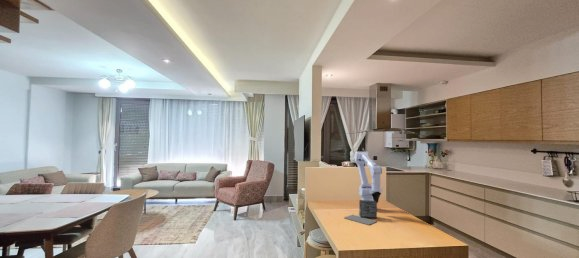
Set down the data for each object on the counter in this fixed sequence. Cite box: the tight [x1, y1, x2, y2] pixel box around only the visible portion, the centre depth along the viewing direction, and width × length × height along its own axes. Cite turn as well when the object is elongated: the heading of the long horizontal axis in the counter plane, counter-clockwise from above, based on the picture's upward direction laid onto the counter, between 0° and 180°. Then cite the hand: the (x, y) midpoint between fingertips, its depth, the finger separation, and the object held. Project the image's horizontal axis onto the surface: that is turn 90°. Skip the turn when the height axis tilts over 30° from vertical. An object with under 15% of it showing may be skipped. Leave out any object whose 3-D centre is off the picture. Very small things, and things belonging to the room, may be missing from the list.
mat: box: [343, 214, 378, 226], centre depth 163 cm, size 10×18×1 cm, turn 43°
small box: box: [358, 199, 378, 219], centre depth 170 cm, size 11×6×10 cm, turn 85°
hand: (375, 202), depth 177 cm, fingers closed
